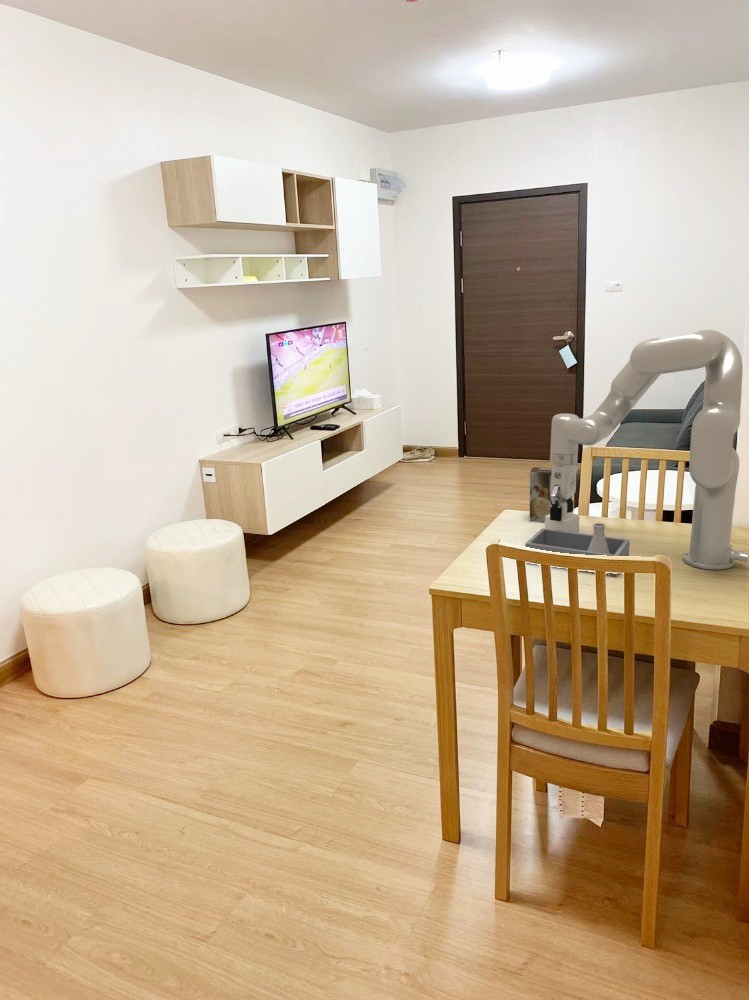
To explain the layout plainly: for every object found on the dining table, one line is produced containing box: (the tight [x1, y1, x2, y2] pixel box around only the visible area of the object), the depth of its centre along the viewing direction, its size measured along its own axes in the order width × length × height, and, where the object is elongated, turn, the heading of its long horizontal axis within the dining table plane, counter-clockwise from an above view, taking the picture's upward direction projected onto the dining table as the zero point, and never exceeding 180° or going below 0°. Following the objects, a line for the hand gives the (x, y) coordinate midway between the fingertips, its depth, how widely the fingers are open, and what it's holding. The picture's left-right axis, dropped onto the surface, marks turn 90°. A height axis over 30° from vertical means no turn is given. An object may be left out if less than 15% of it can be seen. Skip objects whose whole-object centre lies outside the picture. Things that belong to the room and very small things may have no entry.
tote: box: [524, 527, 631, 578], centre depth 208 cm, size 24×14×6 cm, turn 60°
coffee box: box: [529, 466, 561, 523], centre depth 242 cm, size 9×6×16 cm
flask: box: [587, 522, 610, 554], centre depth 205 cm, size 7×7×10 cm
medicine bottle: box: [544, 498, 581, 533], centre depth 225 cm, size 7×7×12 cm
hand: (560, 515), depth 225 cm, fingers open, 9 cm apart
